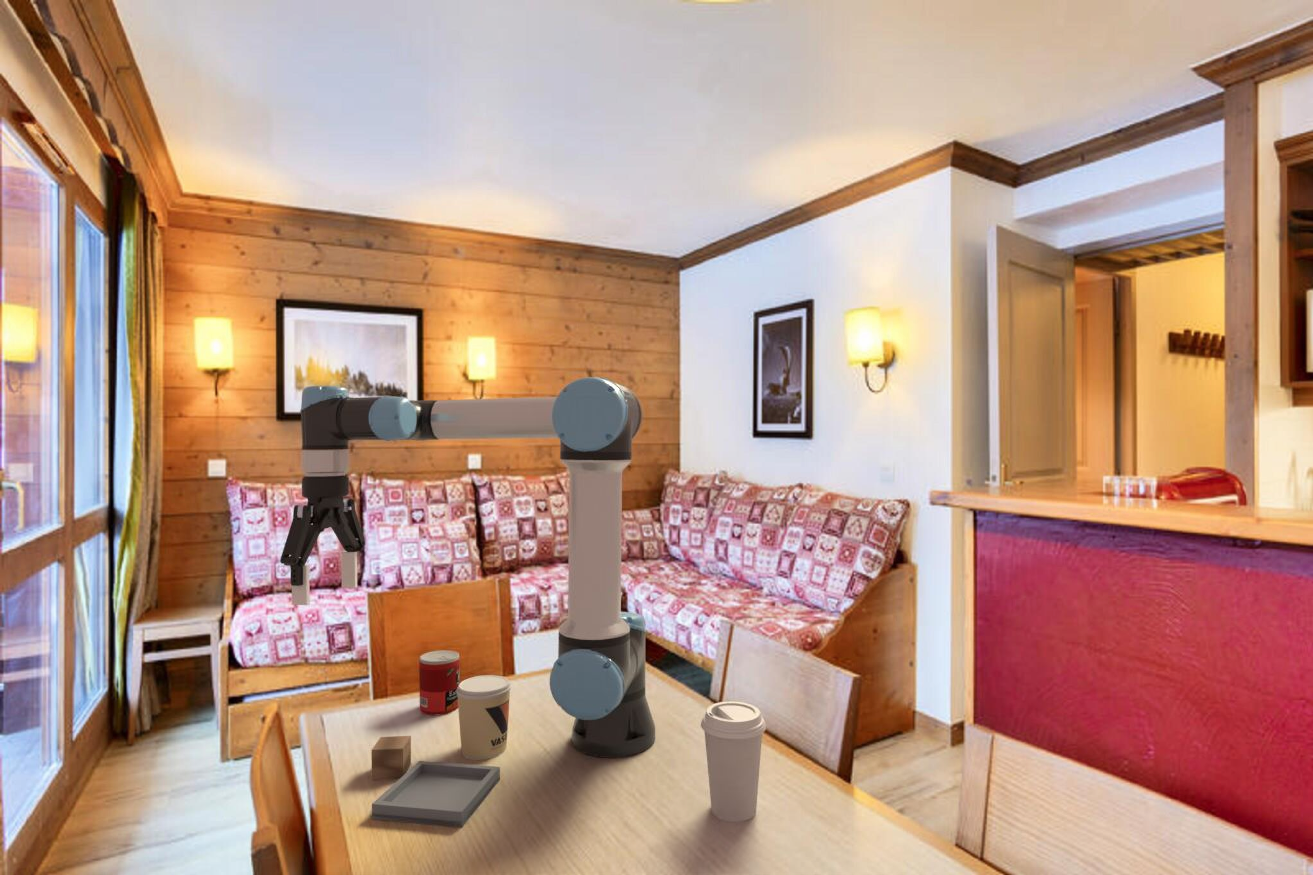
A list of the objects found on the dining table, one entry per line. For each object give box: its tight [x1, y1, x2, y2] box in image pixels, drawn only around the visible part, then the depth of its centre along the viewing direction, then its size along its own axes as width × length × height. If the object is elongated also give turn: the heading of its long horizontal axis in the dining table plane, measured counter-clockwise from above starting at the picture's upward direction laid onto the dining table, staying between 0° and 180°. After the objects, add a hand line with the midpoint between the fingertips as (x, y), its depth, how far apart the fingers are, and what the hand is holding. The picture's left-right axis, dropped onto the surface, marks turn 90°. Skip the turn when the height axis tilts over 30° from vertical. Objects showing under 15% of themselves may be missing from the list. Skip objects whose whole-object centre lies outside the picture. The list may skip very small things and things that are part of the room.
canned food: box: [418, 650, 461, 716], centre depth 145 cm, size 8×8×11 cm
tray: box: [371, 760, 501, 828], centre depth 109 cm, size 14×14×2 cm
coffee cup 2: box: [700, 700, 767, 823], centre depth 104 cm, size 10×10×15 cm
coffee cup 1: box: [457, 674, 512, 761], centre depth 126 cm, size 9×9×12 cm
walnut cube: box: [371, 735, 412, 781], centre depth 118 cm, size 5×5×5 cm
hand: (326, 595), depth 124 cm, fingers open, 13 cm apart
